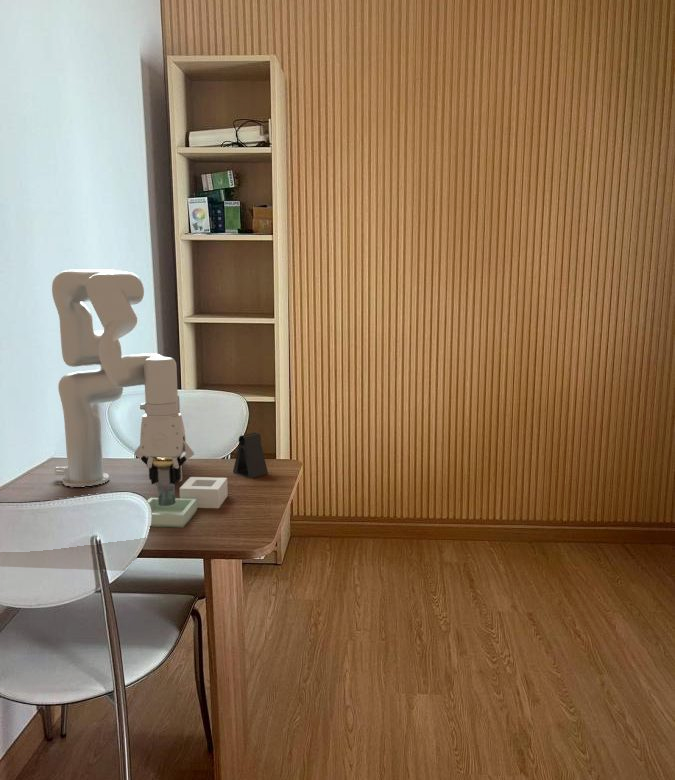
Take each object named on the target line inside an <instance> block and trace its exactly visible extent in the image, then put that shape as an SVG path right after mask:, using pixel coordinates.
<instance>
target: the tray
mask: <svg viewBox="0 0 675 780" xmlns="http://www.w3.org/2000/svg"><path fill="white" fill-rule="evenodd" d="M146 501H148V502H149V504H150V506H151V509H152V525H151V527H155V528H157V527H159V528H185V527H186V526H187V523H189V522H190V521H191V519H192V518H193V517H194V515H195V514H196V513H197V511H198V508H197V499H180V498H179V497H177V498H176V497H175V504H173V505H170V506H160V505H159V504H158V497H150V498H149V499H148V500H146ZM151 527H150V528H151Z"/></svg>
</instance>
